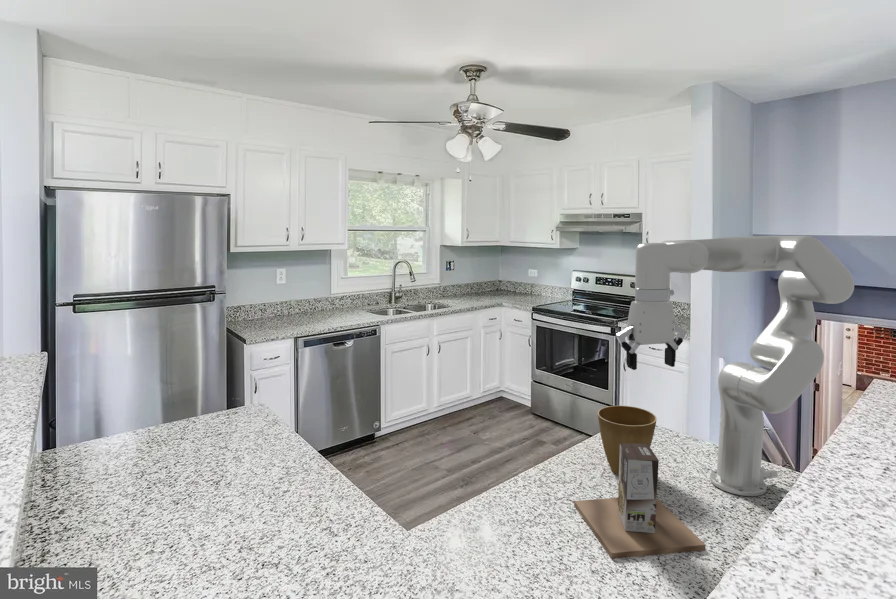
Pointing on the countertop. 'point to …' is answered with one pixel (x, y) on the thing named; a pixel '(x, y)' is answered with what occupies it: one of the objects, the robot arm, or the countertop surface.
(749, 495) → the robot arm
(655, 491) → the coffee box
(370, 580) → the countertop surface
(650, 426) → the plant pot
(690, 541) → the walnut board
